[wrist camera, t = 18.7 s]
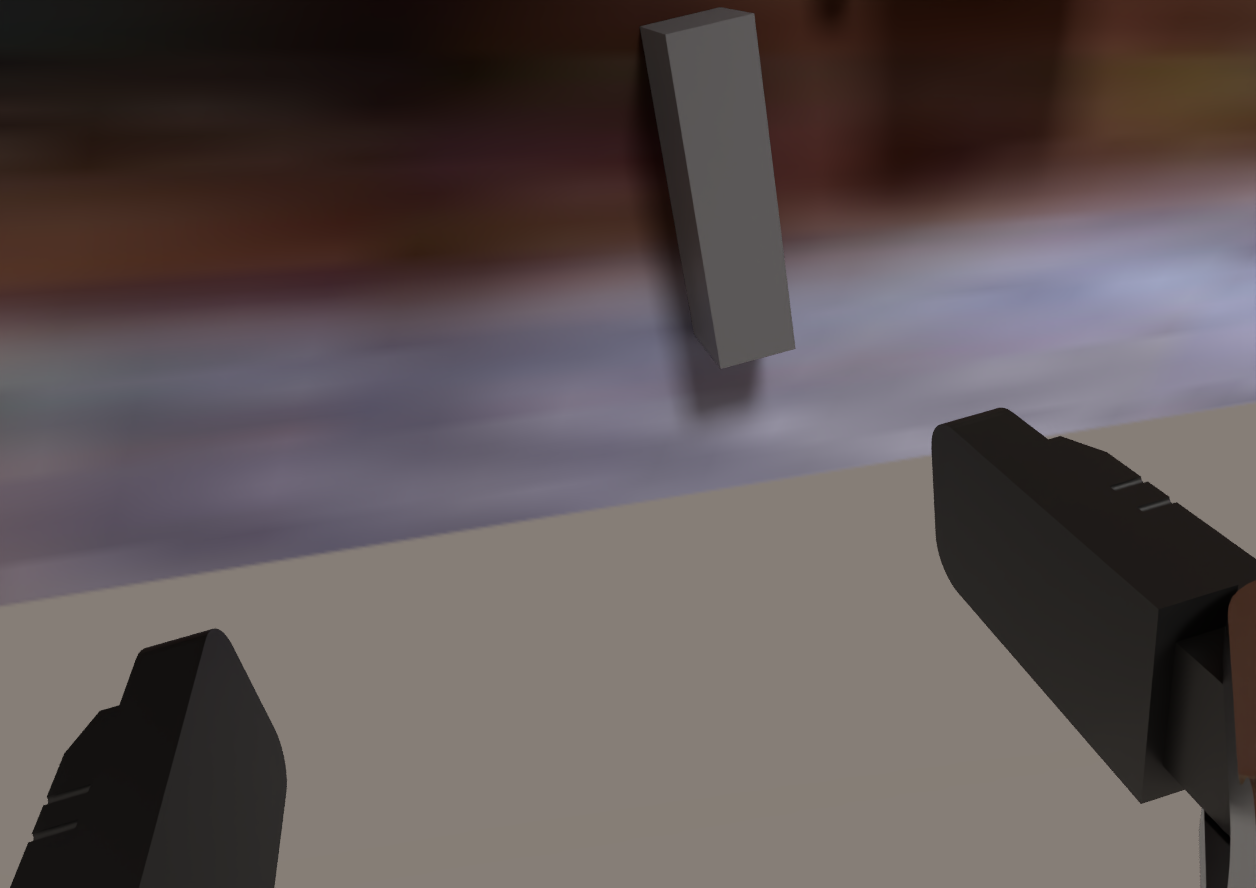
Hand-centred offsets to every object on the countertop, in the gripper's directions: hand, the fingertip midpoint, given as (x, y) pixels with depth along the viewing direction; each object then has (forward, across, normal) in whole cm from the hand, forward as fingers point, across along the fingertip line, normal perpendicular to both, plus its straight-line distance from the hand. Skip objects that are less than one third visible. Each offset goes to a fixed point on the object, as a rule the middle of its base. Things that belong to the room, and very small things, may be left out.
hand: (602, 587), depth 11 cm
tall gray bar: (+28, -9, +4) cm, 30 cm away
